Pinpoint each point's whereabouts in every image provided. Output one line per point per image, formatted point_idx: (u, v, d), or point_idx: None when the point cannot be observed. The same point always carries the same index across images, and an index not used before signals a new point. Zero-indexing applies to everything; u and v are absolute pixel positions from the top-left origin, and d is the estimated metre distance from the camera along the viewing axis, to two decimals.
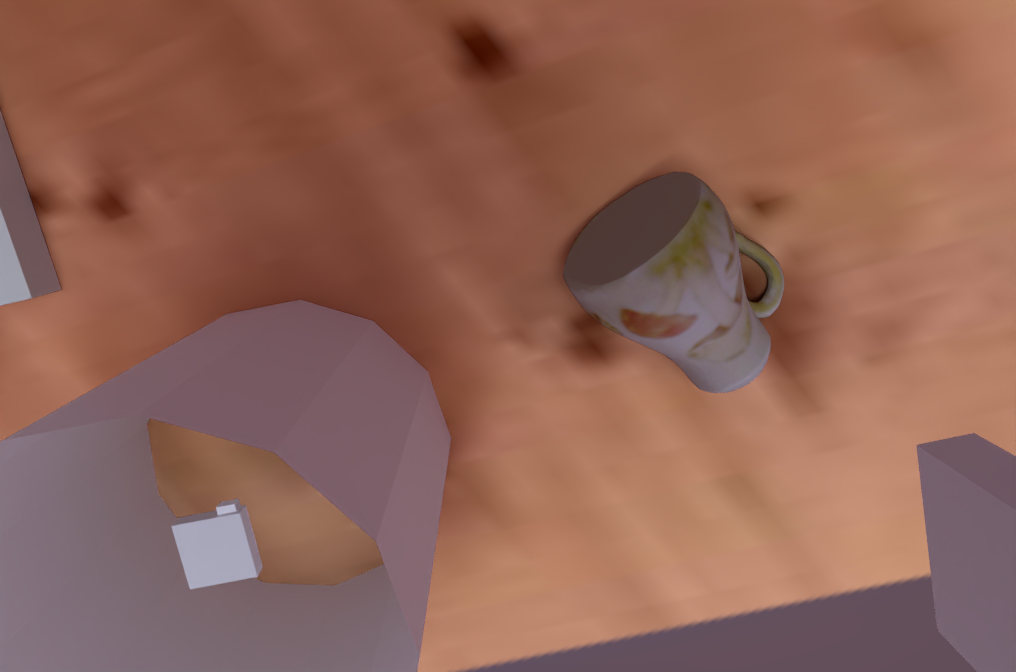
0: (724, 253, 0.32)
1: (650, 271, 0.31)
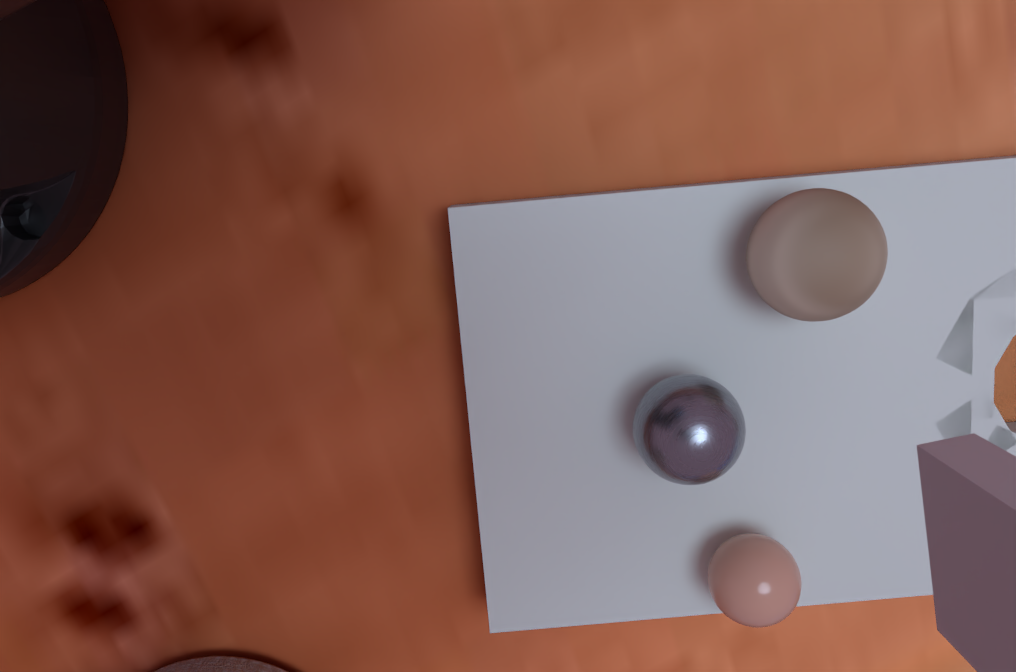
0: None
1: None
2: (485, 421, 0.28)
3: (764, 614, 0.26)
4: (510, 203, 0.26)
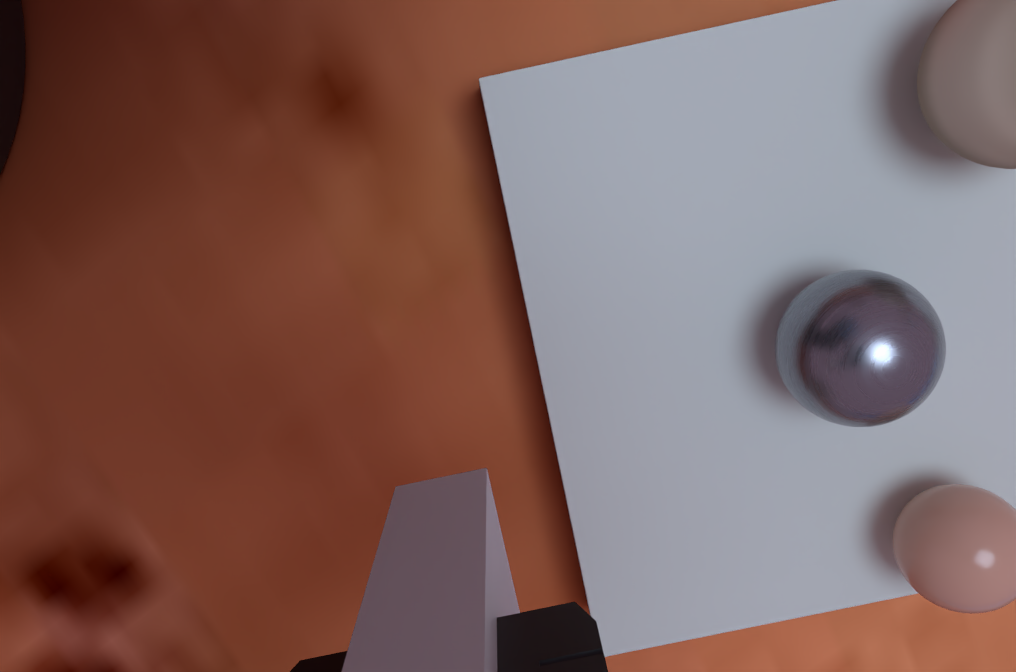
0: None
1: None
2: (563, 374, 0.20)
3: (993, 595, 0.18)
4: (566, 60, 0.19)
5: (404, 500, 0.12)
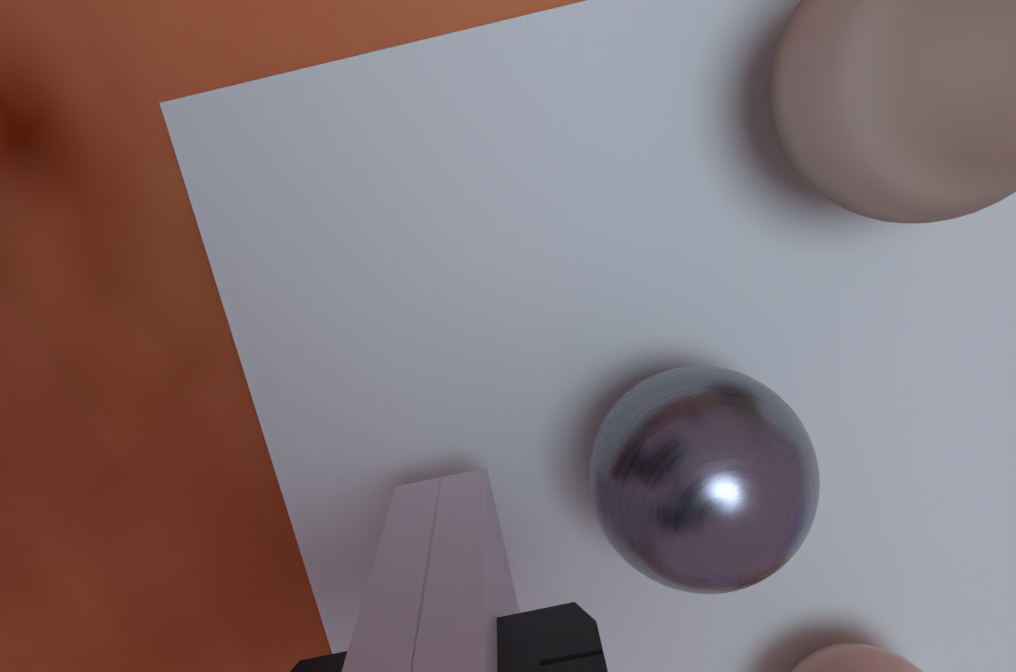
0: None
1: None
2: (317, 504, 0.15)
3: None
4: (283, 75, 0.13)
5: (404, 500, 0.12)
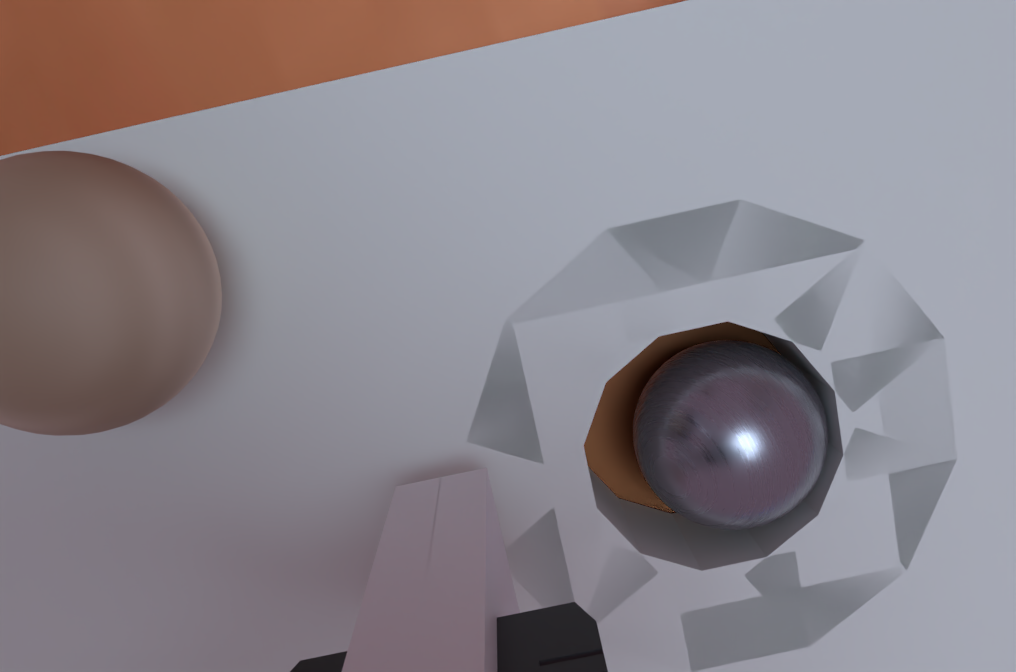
0: None
1: None
2: None
3: None
4: None
5: (404, 501, 0.12)
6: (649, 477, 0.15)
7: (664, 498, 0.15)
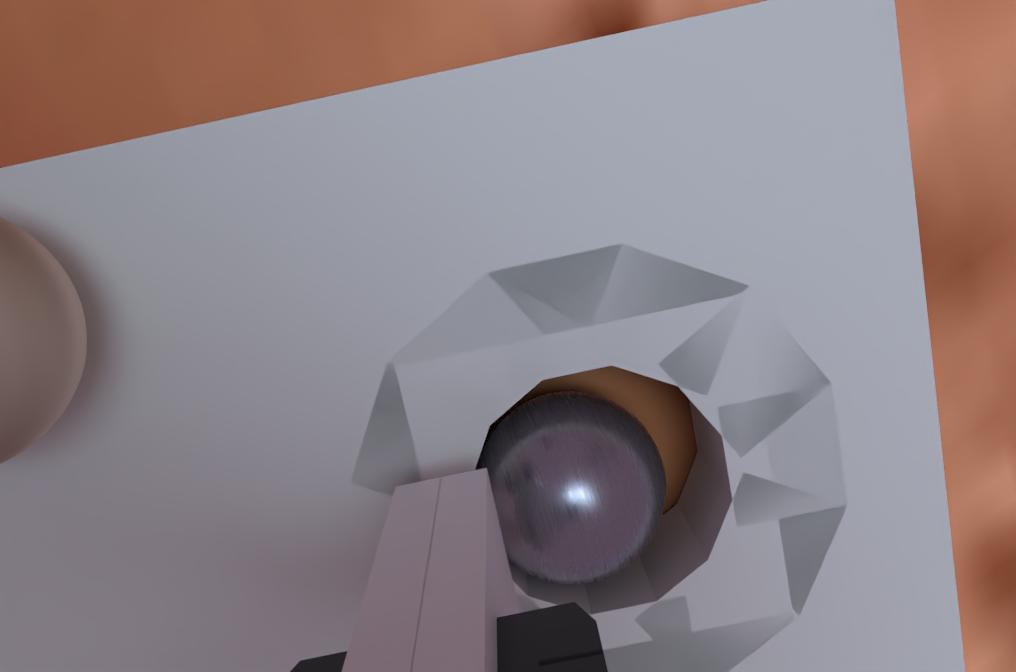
0: None
1: None
2: None
3: None
4: None
5: (404, 500, 0.12)
6: None
7: None
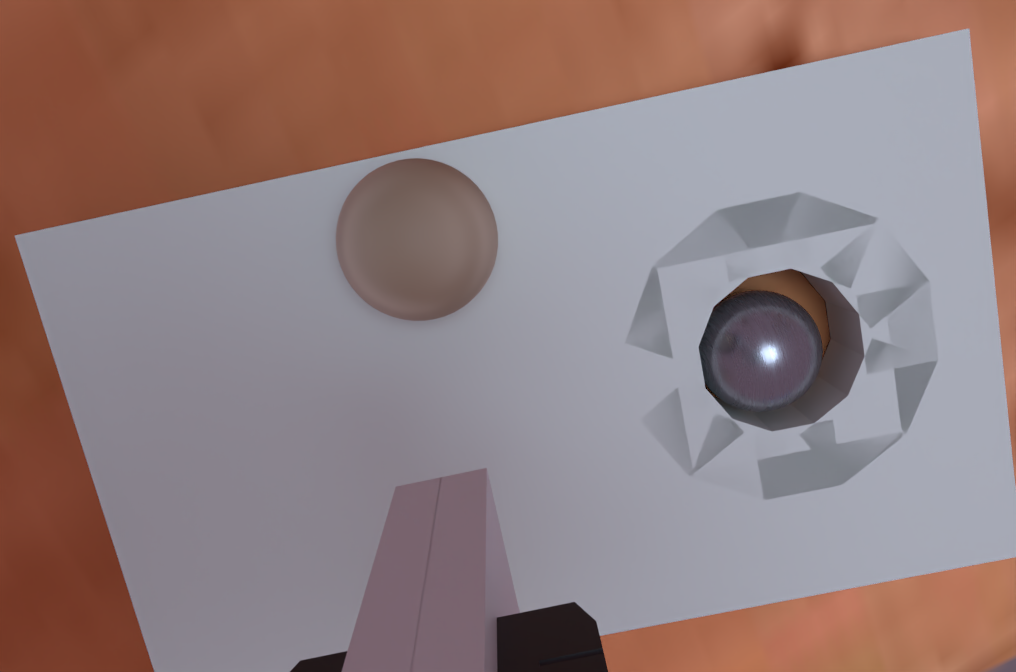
0: None
1: None
2: (111, 476, 0.24)
3: None
4: (86, 221, 0.22)
5: (404, 501, 0.12)
6: None
7: None
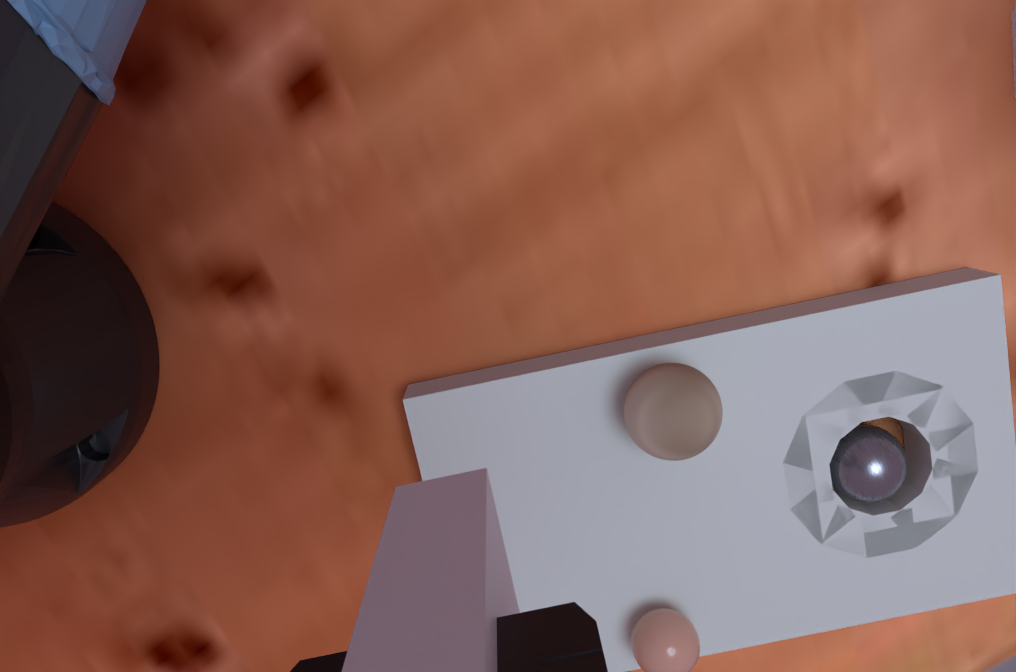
0: None
1: None
2: None
3: None
4: (448, 390, 0.35)
5: (404, 501, 0.12)
6: None
7: None
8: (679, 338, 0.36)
